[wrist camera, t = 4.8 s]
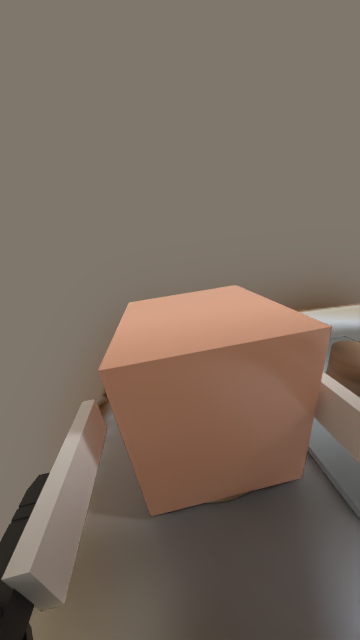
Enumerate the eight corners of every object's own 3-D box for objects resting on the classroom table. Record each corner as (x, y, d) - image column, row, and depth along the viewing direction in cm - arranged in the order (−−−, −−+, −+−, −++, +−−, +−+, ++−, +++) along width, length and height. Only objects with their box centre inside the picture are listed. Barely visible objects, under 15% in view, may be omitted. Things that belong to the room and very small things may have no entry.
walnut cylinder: (335, 368, 21) (342, 336, 19) (386, 388, 17) (399, 352, 16) (316, 383, 19) (323, 350, 18) (369, 409, 16) (382, 371, 14)
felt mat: (344, 339, 26) (345, 336, 26) (587, 454, 12) (594, 448, 11) (238, 360, 25) (238, 357, 25) (359, 518, 10) (361, 513, 10)
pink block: (237, 378, 21) (236, 285, 17) (302, 477, 12) (331, 326, 8) (152, 396, 21) (129, 302, 16) (150, 516, 11) (97, 370, 7)
